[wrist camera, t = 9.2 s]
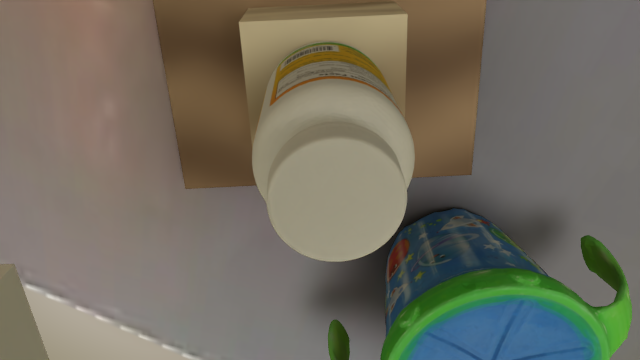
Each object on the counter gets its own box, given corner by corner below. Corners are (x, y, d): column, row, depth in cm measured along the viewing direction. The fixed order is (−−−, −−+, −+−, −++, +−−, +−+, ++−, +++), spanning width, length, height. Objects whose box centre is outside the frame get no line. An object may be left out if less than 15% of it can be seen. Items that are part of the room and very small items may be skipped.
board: (144, -91, 25) (136, -92, 24) (487, -109, 25) (495, -110, 24) (189, 179, 31) (185, 188, 30) (465, 165, 31) (471, 174, 30)
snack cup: (563, 150, 31) (672, 247, 22) (576, 292, 35) (670, 423, 26) (302, 217, 32) (300, 334, 23) (346, 345, 37) (358, 485, 28)
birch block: (248, 8, 26) (238, 22, 22) (393, 1, 26) (407, 14, 22) (261, 143, 29) (255, 174, 25) (391, 136, 29) (403, 167, 25)
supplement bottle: (345, 175, 25) (365, 309, 17) (244, 120, 24) (207, 234, 15) (411, 79, 23) (473, 173, 15) (304, 14, 22) (302, 74, 13)
